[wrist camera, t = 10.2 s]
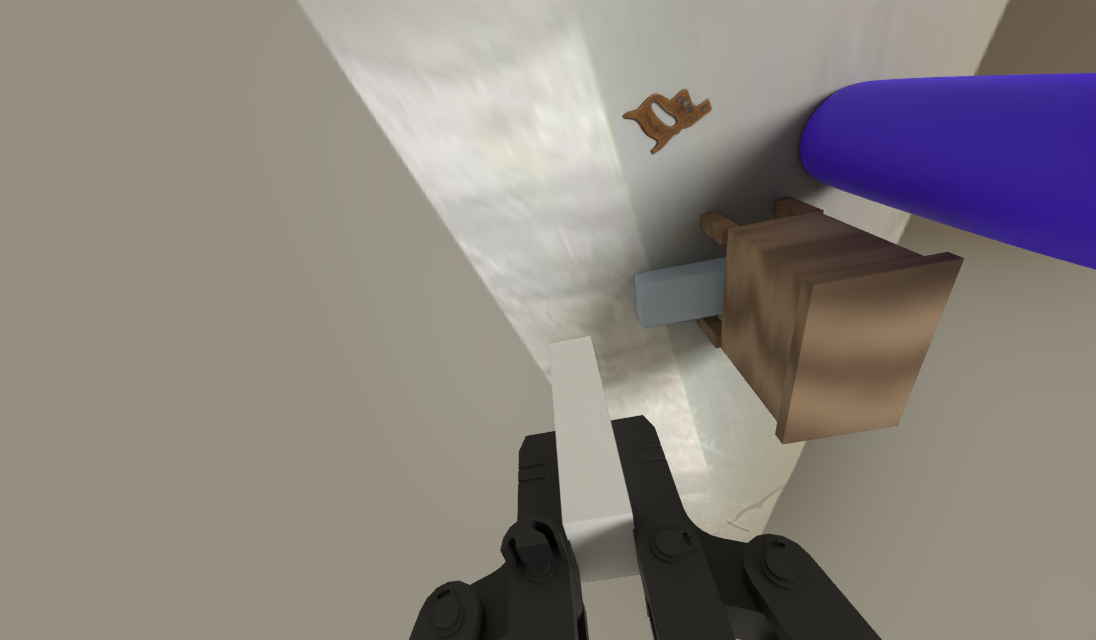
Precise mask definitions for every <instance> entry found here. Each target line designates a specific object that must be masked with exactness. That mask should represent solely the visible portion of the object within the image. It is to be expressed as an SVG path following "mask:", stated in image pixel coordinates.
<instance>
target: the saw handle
mask: <svg viewBox="0 0 1096 640" xmlns="http://www.w3.org/2000/svg"><path fill="white" fill-rule="evenodd" d="M654 102H658V103H659V104H660V105H661V106H662V108H663V109H664V110H666V111H667V112H668V113H670V114H671V115H673V116H674V117H675V118H676V124H675V125H674V126H667V125H666V124H664V123H663V122H662V121H661V120H660V119H659V118H658V117H657V116H656V115H655V113H654V112H653V110H652V107H651V105H652V104H653V103H654ZM711 110H712V107H711V104H710V101H709V98H708V99H706V100H705V101H704V102H702V103H701V104H700V105H698V106H696V105H694V104H693V103H692V101H691V99H690V96H689V93H688V91H687V89H683V90H681V91H680V92H679V93H678V94H677V95H676V96H675V97H674V98H673V99H671V100H669V99H667V98H665V97H664V96H662V95H660V94H652V95H651V96H650V97H649V98H648V99H647V100H646V101H645V102H644V103H643V104H642V105H641V106H640V107H639V108H638V109H636V110H633V111H630V112H627V113H625V114H624V115H623V117H624V118H625V119H634V120H636V121H637V122H638V123H639V124H640V126H641V128H642V129H643V131H644V132H645V134H646V135H648V136H649V137H651V138H653V139H655V140H656V141H657V144H656V146H655V147H654V148H653V149H652V150H651V152H652V154H655V153H656V152H658V151H660V150H661V149H662V148H663V147H664V146H665V144H666V143H667V142H668V141H669V140H670V139H671V138H672V137H673V136H674V135H676V134H678V133H679V132H680V131H681V130H682V129H683V128H687V127H690V126H692V125H693V124H694V123H696V122H697V121H698V120H700V119H701V118H702V117H703V116H705V115H706V114H707V113H709V112H710V111H711Z"/></svg>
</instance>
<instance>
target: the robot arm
mask: <svg viewBox="0 0 1096 640" xmlns="http://www.w3.org/2000/svg"><path fill="white" fill-rule="evenodd" d="M549 354H550V367H551V380H552V393H553V406H554V419H555V431H552V432H547V433H541V434H535V435H529V436H526V437H525V440H524V442H523V444H522V446H521V448H520V450H519V473H518V481H519V485H518V518H517V520H518V521H517V522H516V523H515V524H513V525H512V526H511V527H510V528H509V530H508V531H507V533H506V534H505V536H504V538H503V541H502V545H501V552H502V555H503V557H504V559H505V561H506V562H505V563H504V564H503V565H502V566H501V567H500V568H499V569H497V570H496V571H494V572H493V573H491V574H489V575H488V576H486V577H484V578H482V579H480V580H478V581H476V582H475V583H473V584H471V585H469V584H466V583H464V582H461V581H452V582H447V583H445V584H443V585H442V586H440V587H438V588H436V590H435V591H434V592H433V593H432V594H431V595H430V596H429V597H428V598H427V599H426V601H425V603H424V605H423V607H422V608H421V610H420V613H419V615H418V618H417V620H416V623H415V625H414V628H413V631H412V633H411V636H410V638H409V640H589V636H588V626H587V618H586V610H585V607H584V604H583V600H582V590H581V582H582V583H584V582H590V581H597V580H605V579H612V578H619V577H626V576H632V575H641V579H642V584H643V589H644V593H645V600H646V608H647V615H648V617H649V620H650V624H651V629H652V633H653V637H654V640H736V639H735V638H737V639H741V640H881V638H880V637H879V636H878V635H877V634H876V632H875V631H874V630H873V629H872V628H871V626H870V625H869V624H868V623H867V622H866V621H865V620H864V618H863V617H862V616H861V615H860V613H859V612H858V611H857V610H856V609H855V608H854V606H853V605H852V604H851V603H850V602H849V601H848V599H846V597H845V596H844V595H843V593H842V592H841V591H840V590H839V589H838V588H837V586H836V585H835V584H834V583H833V582H832V580H831V579H830V578H829V577H828V576H827V575H826V573H825V572H824V571H823V570H822V569H821V568H820V566H819V565H818V564H817V563H816V562H815V561H814V559H813V558H812V557H811V556H810V555H809V554H808V553H807V552H806V551H805V550H804V549H803V548H802V547H801V546H799V545H798V544H797V543H795V542H793V541H791V540H789V539H787V538H785V537H784V536H779V535H774V534H764V535H759V536H756V537H755V538H753V539H752V540H751V541H749V542H748V543H745V542H739V541H734V540H729V539H723V538H719V537H716V536H712V535H710V534H708V533H706V532H704V531H702V530H701V529H700V528H698V527H697V526H696V525H695V524H694V523H693V522H692V521H691V520H690V518H689V517H688V516H687V514H686V512H685V510H684V508H683V505H682V503H681V500H680V497H679V494H678V491H677V489H676V486H675V483H674V480H673V477H672V474H671V472H670V469H669V466H668V463H667V460H666V459H665V455H664V452H663V449H662V446H661V444H660V441H659V438H658V435H657V432H656V430H655V427H654V426H653V425H652V424H651V423H650V422H649V421H648V420H647V419H646V418H645V417H644V416H643V415H640V416H634V417H628V418H623V419H617V420H611V421H610V416H609V412H608V408H607V404H606V399H605V395H604V391H603V387H602V383H601V378H600V374H599V370H598V366H597V361H596V357H595V353H594V349H593V344H592V340H591V336H584V337H579V338H574V339H568V340H563V341H558V342H552V343H549ZM580 579H581V580H580Z"/></svg>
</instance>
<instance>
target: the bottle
mask: <svg viewBox="0 0 1096 640" xmlns="http://www.w3.org/2000/svg"><path fill="white" fill-rule="evenodd" d="M800 155H801V161H802V164H803V166H804V168H805V170H806V171H807V172H808V174H809V175H811V176H812V177H813V178H815V179H817V180H819V181H820V182H822V183H824V184H827V185H829V186H832V187H834V188H837V189H840V190H843V191H845V192H848V193H851V194H854V195H857V196H860V197H863V198H866V199H869V200H872V201H874V202H878V203H881V204H884V205H887V206H890V207H893V208H896V209H899V210H902V211H905V212H908V213H911V214H914V215H917V216H920V217H923V218H927V219H930V220H933V221H936V222H939V223H942V224H946V225H949V226H952V227H955V228H958V229H961V230H965V231H968V232H971V233H974V234H977V235H980V236H984V237H987V238H990V239H994V240H997V241H1000V242H1003V243H1006V244H1010V245H1013V246H1016V247H1020V248H1023V249H1026V250H1029V251H1033V252H1036V253H1039V254H1043V255H1046V256H1050V257H1053V258H1057V259H1060V260H1064V261H1068V262H1071V263H1074V264H1078V265H1082V266H1085V267H1089V268H1092V269H1096V73H1077V74H1076V73H1074V74H1031V75H993V76H958V77H929V78H907V79H889V80H877V81H867V82H862V83H857V84H853V85H850V86H847V87H845V88H843V89H841V90H839V91H837V92H836V93H834V94H833V95H831V96H830V97H829V98H828V99H826V100H825V101H824V102H823V103H822V104H821V105H820V106H819V107H818V108H817V110H816V111H815V112H814V113H813V115H812V116H811V118H810V119H809V121H808V123H807V125H806V127H805V129H804V132H803V135H802V139H801V145H800Z"/></svg>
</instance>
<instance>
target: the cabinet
mask: <svg viewBox="0 0 1096 640" xmlns="http://www.w3.org/2000/svg"><path fill="white" fill-rule="evenodd" d="M823 211H824V210H821V209H819V208H816V207H814V206H812V205H809V204H807V203H804V202H802V201H799V200H797V199H794V198H787V199H782V200H776V204H775V212H774V216H775V217H776V218H778V219H775V220H770V221H764V222H759V223H753V224H748V225H743V226H739V225H737V224H736V223H734V222H733V221H731V220H730V219H728V218H726V217H725V216H723V215H722V214H720V213H719V212H713V213H707V214H702V215H701V230H702V231H703V232H704V233H706V234H707V235H708V236H709V237H711V238H712V239H713V240H714V241H716V242H717V243H718V244H719V245H721V246H724V245H727V253H726V269H725V284H724V300H723V316H722V322H721V320H720V319H719V318H718V317H717V316H716V315H715V316H709V317H703V318H699V323H698V325H699V327H700V328H701V329H702V331H703V332H704V333H705V335H706V336H707V337H708V339H709V340H710V341H711V343H712V344H713V345H714V347H715V348H720V347H721V349H722V350H723V351H724V353H725V354H726V355H727V356H728V358H729V359H730V360H731V362H732V363H733V364H734V366H735V367H736V368H737V370H738V371H739V372H740V374H741V375H742V376H743V377H744V379H745V380H746V381H747V383H748V384H749V385H750V387H751V388H752V389H753V391H754V392H755V393H756V394H757V396H758V397H759V398H760V400H761V401H762V402H763V404H764V405H765V406H766V408H767V409H768V410H769V412H770V413H771V414H772V415H773V417H774V418H775V419H776V421H777V427H776V433H775V435H776V436H777V437H778V439H779V440H780V442H781V443H782V444H787V443H794V442H800V441H806V440H812V439H818V438H824V437H830V436H836V435H843V434H848V433H855V432H861V431H867V430H874V429H880V428H885V427H892V426H898V423H899V421H900V418H901V416H902V413H903V411H904V408H905V406H906V403H907V401H908V398H909V396H910V393H911V391H912V388H913V386H914V383H915V381H916V378H917V376H918V373H919V371H920V368H921V366H922V363H923V360H924V358H925V356H926V353H927V350H928V348H929V345H930V343H931V340H932V338H933V335H934V333H935V330H936V328H937V325H938V323H939V320H940V318H941V315H942V313H943V310H944V308H945V305H946V303H947V300H948V298H949V295H950V293H951V290H952V288H953V285H954V283H955V280H956V278H957V275H958V273H959V270H960V268H961V265H962V263H963V260H964V258H962V257H960V256H957V255H954V254H952V253H949V252H945V253H939V254H934V255H929V256H922V255H920V254H918V253H915V252H913V251H911V250H908V249H906V248H903V247H901V246H899V245H896V244H894V243H892V242H889V241H887V240H884V239H882V238H880V237H877V236H875V235H872V234H870V233H868V232H865V231H863V230H860V229H858V228H856V227H853V226H851V225H849V224H846V223H844V222H841V221H839V220H837V219H834V218H832V217H829V216H827V215H825V214H823Z"/></svg>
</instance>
